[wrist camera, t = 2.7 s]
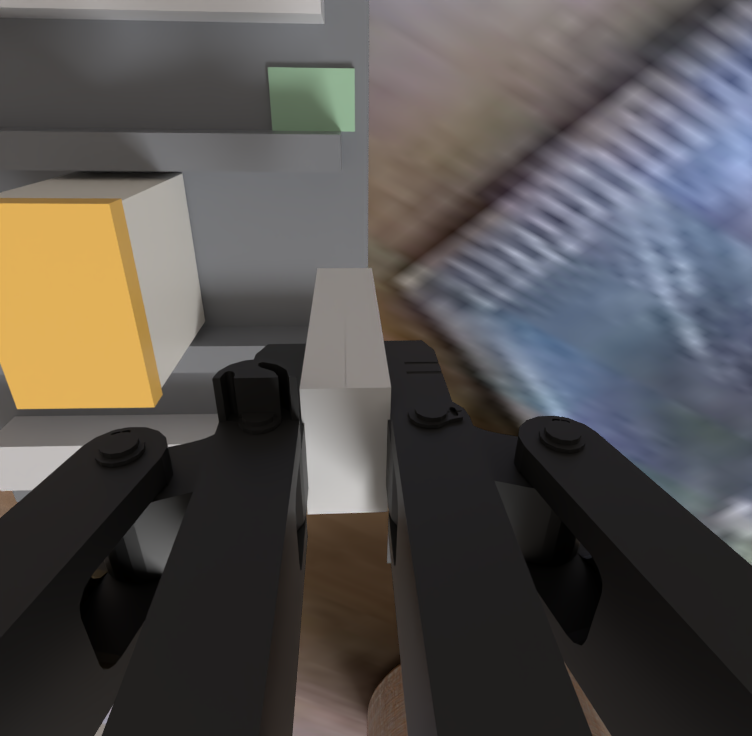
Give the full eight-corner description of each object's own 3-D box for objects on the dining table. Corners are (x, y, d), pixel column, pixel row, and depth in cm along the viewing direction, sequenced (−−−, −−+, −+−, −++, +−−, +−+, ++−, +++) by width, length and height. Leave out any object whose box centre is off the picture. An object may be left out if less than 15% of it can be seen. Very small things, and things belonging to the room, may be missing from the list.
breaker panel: (367, -145, 18) (372, -234, 13) (365, 459, 30) (368, 528, 25) (-179, -163, 17) (-387, -266, 12) (47, 464, 29) (-13, 537, 24)
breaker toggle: (184, 170, 19) (109, 203, 13) (207, 323, 22) (154, 407, 16) (70, 169, 19) (-59, 202, 13) (108, 323, 22) (17, 409, 16)
